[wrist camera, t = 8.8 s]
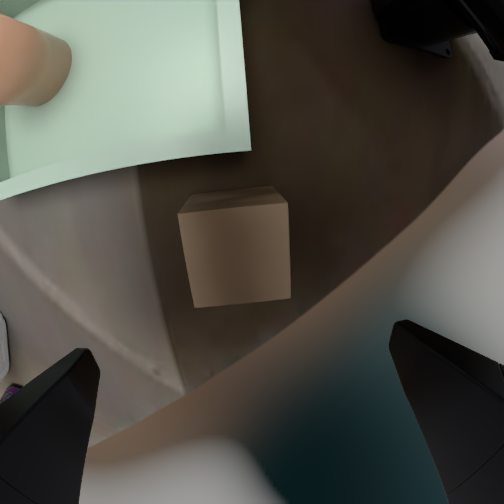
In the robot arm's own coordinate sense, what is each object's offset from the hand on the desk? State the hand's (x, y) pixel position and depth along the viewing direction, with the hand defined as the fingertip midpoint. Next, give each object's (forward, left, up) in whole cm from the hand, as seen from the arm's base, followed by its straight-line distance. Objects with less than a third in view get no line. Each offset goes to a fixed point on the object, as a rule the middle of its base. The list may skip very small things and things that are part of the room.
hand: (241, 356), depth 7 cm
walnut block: (0, 0, -12) cm, 12 cm away
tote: (+8, -13, -12) cm, 19 cm away
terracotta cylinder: (+12, -13, -11) cm, 21 cm away
